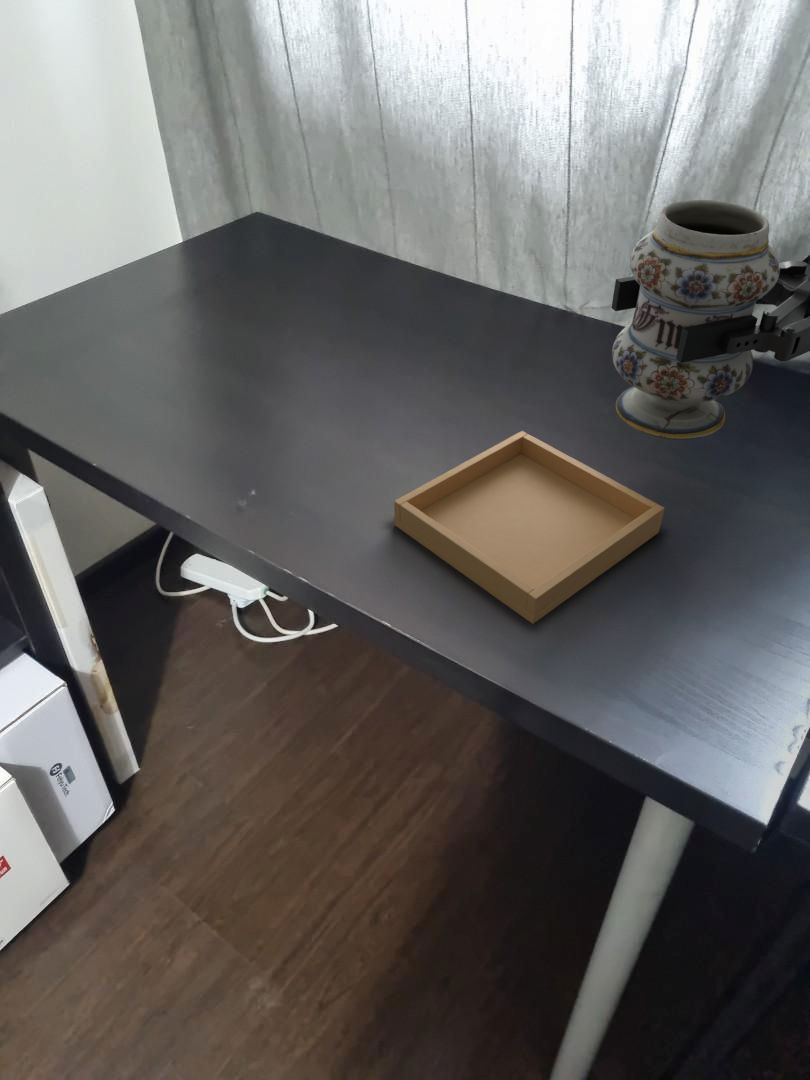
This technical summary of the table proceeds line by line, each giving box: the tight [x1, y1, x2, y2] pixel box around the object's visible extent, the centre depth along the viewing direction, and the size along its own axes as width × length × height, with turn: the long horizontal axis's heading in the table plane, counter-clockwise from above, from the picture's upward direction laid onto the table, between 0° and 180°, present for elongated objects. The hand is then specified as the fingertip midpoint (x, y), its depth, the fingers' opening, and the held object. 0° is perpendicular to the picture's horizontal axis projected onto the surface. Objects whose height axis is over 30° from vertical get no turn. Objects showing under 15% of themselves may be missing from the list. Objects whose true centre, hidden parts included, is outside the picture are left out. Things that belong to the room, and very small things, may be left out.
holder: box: [393, 430, 665, 625], centre depth 73 cm, size 17×17×3 cm
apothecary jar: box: [611, 199, 780, 441], centre depth 71 cm, size 12×12×18 cm
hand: (647, 319), depth 70 cm, fingers closed on apothecary jar, 9 cm apart
